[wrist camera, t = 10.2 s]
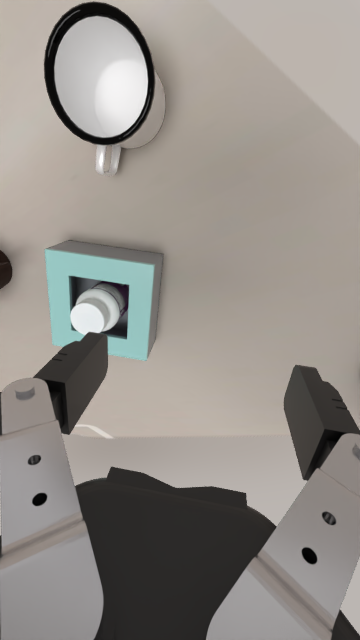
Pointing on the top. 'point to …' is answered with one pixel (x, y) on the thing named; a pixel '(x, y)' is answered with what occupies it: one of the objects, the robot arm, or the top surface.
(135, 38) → the mug
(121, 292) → the pill bottle
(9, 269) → the coffee mug
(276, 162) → the top surface
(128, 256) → the bin
